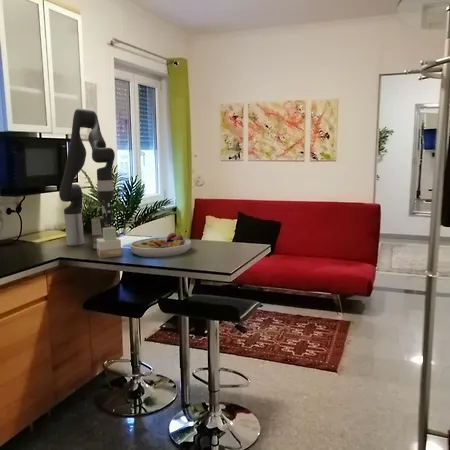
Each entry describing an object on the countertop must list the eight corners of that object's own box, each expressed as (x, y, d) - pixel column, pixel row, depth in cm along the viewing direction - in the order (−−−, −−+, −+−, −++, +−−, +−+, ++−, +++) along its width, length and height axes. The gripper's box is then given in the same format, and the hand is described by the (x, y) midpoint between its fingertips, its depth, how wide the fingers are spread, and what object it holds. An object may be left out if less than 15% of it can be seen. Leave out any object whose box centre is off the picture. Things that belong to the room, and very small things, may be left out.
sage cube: (103, 238, 228) (102, 227, 228) (114, 237, 230) (113, 226, 230) (104, 240, 223) (104, 229, 223) (116, 239, 225) (115, 228, 225)
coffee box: (104, 248, 243) (102, 218, 240) (92, 248, 244) (90, 218, 242) (111, 245, 252) (109, 216, 249) (100, 245, 253) (98, 216, 251)
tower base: (97, 254, 230) (96, 246, 230) (117, 252, 234) (117, 244, 233) (100, 258, 221) (99, 250, 220) (121, 256, 225) (120, 248, 224)
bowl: (174, 260, 212) (174, 243, 211) (118, 257, 223) (117, 241, 221) (200, 247, 240) (200, 232, 239) (149, 245, 250) (149, 231, 249)
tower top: (97, 246, 230) (96, 238, 229) (117, 244, 234) (116, 236, 233) (99, 250, 221) (99, 242, 220) (121, 248, 224) (120, 240, 224)
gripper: (116, 190, 218) (118, 224, 221) (110, 188, 231) (112, 220, 234) (99, 191, 215) (101, 225, 218) (95, 189, 228) (97, 221, 231)
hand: (107, 223), depth 226 cm, fingers open, 8 cm apart
